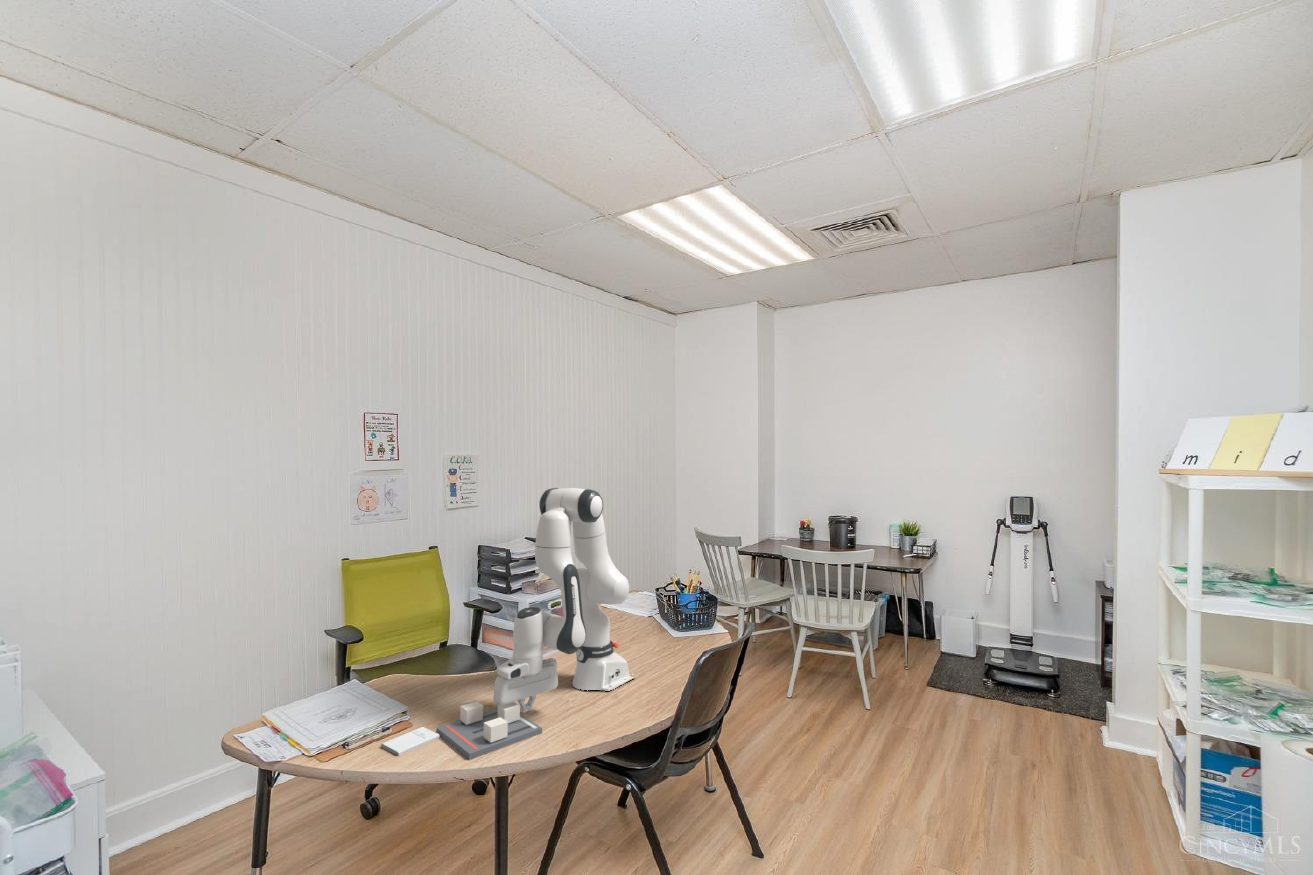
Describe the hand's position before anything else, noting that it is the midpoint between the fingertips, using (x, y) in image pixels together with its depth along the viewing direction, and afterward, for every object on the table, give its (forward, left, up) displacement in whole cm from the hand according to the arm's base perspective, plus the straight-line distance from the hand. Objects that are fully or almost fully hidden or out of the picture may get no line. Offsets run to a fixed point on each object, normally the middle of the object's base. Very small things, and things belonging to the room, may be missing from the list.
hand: (526, 711), depth 177 cm
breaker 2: (+14, +7, -1) cm, 16 cm away
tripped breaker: (+6, 0, -1) cm, 6 cm away
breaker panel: (+12, 0, -3) cm, 12 cm away
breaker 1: (+14, -7, -1) cm, 16 cm away
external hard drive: (+30, -9, -4) cm, 32 cm away
